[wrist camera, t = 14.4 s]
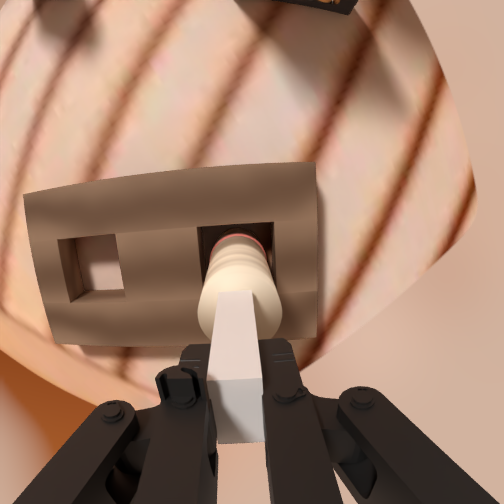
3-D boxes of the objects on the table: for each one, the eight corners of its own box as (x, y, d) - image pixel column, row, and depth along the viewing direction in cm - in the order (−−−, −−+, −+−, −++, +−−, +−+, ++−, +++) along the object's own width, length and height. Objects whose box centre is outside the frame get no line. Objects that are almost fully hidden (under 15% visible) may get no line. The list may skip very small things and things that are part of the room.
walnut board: (41, 191, 24) (23, 194, 21) (306, 162, 25) (315, 161, 22) (68, 329, 28) (55, 343, 25) (309, 321, 28) (316, 337, 25)
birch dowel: (210, 228, 26) (190, 275, 14) (261, 224, 26) (283, 269, 14) (215, 277, 27) (201, 354, 15) (264, 273, 27) (284, 348, 15)
